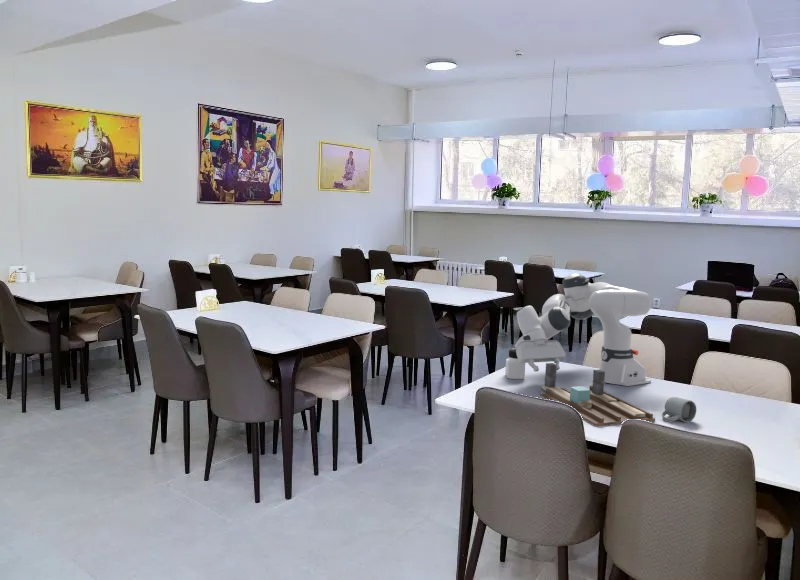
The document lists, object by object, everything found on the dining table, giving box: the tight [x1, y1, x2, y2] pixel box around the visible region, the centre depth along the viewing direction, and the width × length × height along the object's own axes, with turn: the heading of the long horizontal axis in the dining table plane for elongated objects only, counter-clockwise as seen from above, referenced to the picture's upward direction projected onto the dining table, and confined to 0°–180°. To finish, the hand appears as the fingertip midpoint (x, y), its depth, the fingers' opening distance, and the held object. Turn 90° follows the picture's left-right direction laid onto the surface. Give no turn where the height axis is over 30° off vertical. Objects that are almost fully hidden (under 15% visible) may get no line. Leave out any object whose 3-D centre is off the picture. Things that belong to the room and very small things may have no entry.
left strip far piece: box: [610, 401, 646, 417], centre depth 230 cm, size 5×14×1 cm, turn 18°
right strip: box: [541, 362, 592, 408], centre depth 243 cm, size 5×26×10 cm, turn 18°
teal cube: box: [569, 385, 590, 404], centre depth 235 cm, size 5×5×5 cm
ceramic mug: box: [661, 396, 697, 423], centre depth 225 cm, size 11×8×8 cm
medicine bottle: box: [504, 348, 526, 380], centre depth 275 cm, size 7×7×12 cm
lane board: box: [540, 385, 656, 427], centre depth 236 cm, size 24×36×3 cm, turn 18°
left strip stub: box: [591, 369, 617, 402], centre depth 242 cm, size 5×10×10 cm, turn 18°
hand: (547, 370), depth 255 cm, fingers open, 8 cm apart
